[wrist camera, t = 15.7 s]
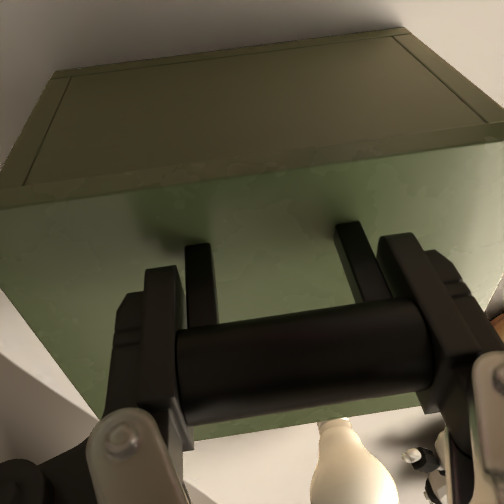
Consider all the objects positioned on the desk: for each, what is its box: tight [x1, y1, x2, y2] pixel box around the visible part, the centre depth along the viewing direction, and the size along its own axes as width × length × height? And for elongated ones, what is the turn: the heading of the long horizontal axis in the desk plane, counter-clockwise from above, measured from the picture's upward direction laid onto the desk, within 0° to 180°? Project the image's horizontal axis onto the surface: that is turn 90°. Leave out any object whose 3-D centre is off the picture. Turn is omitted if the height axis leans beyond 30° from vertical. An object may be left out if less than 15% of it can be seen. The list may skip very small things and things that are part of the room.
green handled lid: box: [0, 121, 504, 441], centre depth 15 cm, size 15×15×5 cm
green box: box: [0, 27, 504, 189], centre depth 20 cm, size 14×15×9 cm
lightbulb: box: [310, 417, 399, 504], centre depth 35 cm, size 6×6×11 cm
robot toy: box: [402, 431, 447, 504], centre depth 47 cm, size 12×4×15 cm
